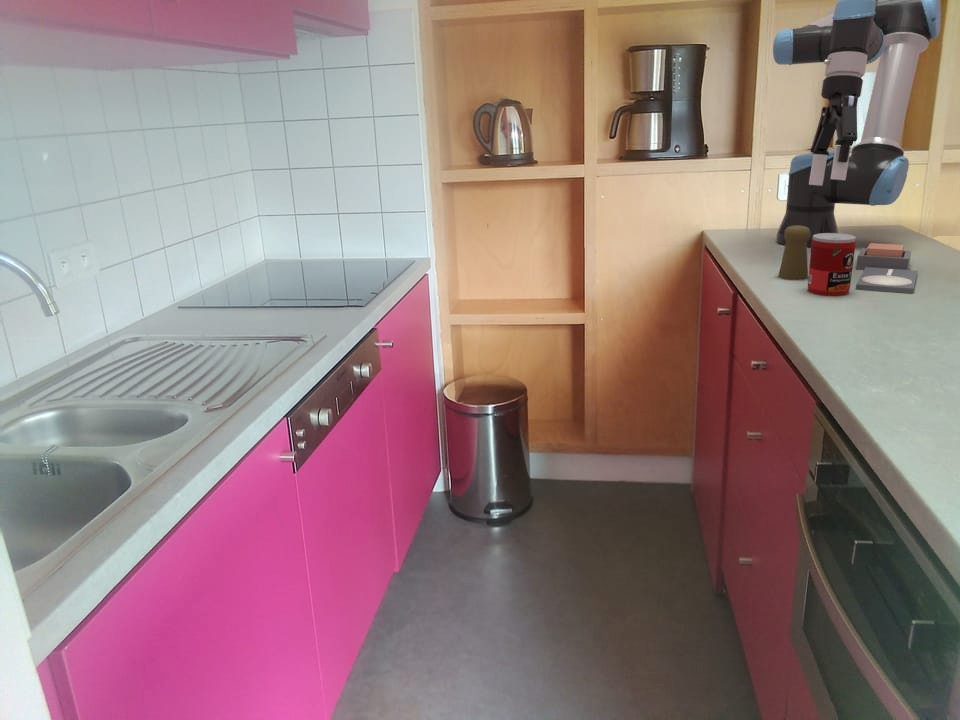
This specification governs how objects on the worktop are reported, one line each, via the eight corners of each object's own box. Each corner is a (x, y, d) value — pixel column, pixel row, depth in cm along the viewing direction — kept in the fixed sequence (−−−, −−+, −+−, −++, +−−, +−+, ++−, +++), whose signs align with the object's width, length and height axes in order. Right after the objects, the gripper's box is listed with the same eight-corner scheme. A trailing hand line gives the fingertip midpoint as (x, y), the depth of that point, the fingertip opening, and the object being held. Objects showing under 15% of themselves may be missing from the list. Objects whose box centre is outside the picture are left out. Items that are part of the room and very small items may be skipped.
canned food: (831, 298, 147) (838, 241, 143) (798, 290, 153) (803, 235, 150) (858, 292, 150) (865, 236, 147) (824, 285, 157) (830, 231, 153)
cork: (810, 280, 161) (816, 228, 158) (780, 280, 162) (785, 228, 159) (805, 274, 167) (810, 223, 163) (775, 274, 168) (780, 223, 165)
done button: (868, 256, 175) (870, 243, 174) (902, 258, 172) (903, 244, 171) (865, 261, 170) (867, 248, 169) (900, 263, 166) (901, 250, 165)
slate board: (865, 271, 167) (865, 266, 167) (917, 275, 162) (917, 270, 162) (855, 289, 152) (856, 283, 152) (912, 293, 148) (913, 288, 147)
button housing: (860, 260, 178) (862, 248, 177) (909, 263, 173) (911, 250, 172) (855, 269, 170) (857, 255, 169) (907, 272, 165) (908, 258, 164)
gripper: (805, 88, 170) (790, 185, 174) (847, 61, 146) (828, 175, 149) (840, 91, 170) (824, 188, 173) (887, 65, 145) (868, 178, 148)
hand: (826, 182), depth 161 cm, fingers open, 13 cm apart
